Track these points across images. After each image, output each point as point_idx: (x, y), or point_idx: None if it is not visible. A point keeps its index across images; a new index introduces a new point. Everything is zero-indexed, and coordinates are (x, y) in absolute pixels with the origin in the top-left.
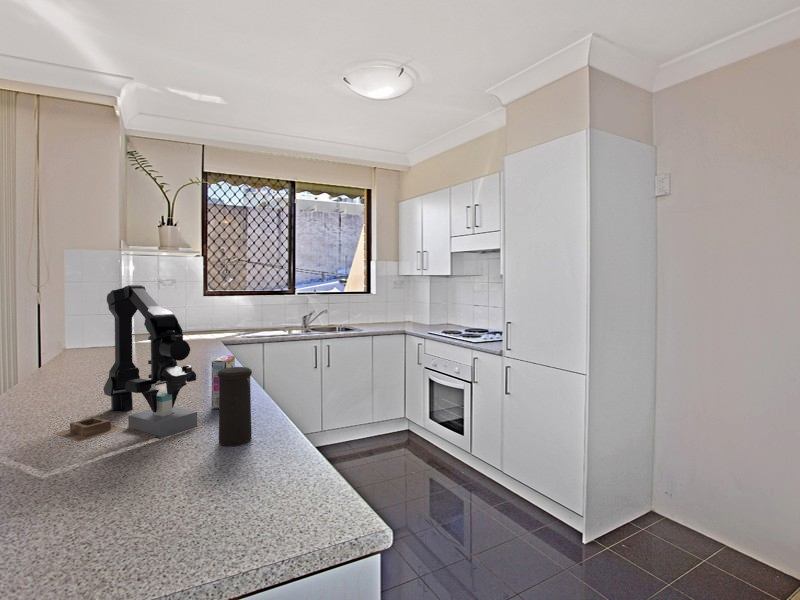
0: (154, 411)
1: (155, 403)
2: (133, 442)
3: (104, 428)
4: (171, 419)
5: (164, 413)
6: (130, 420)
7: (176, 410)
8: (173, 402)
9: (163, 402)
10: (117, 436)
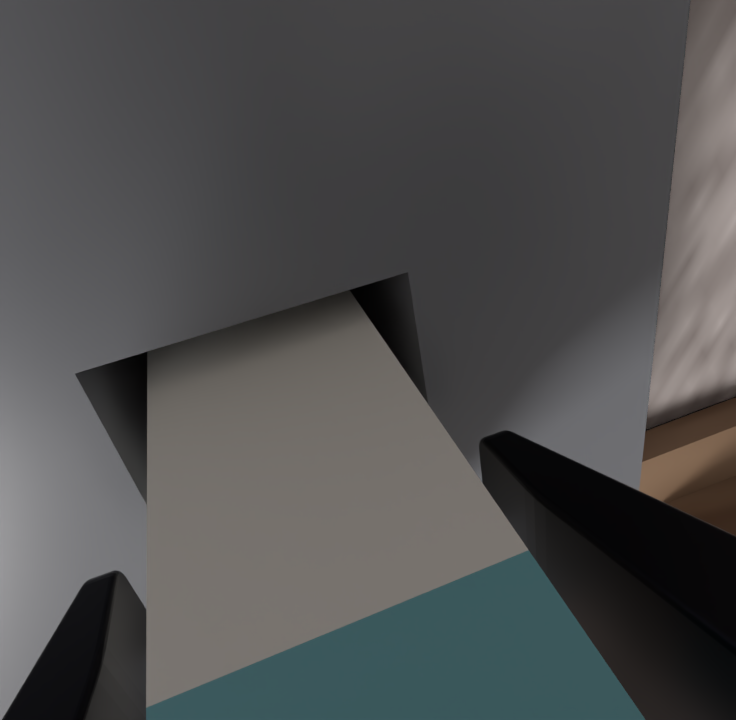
0: (525, 446)
1: (662, 548)
2: (720, 45)
3: (722, 508)
4: None
5: (348, 354)
6: None
7: (7, 538)
8: (59, 689)
9: (482, 548)
10: (657, 376)
